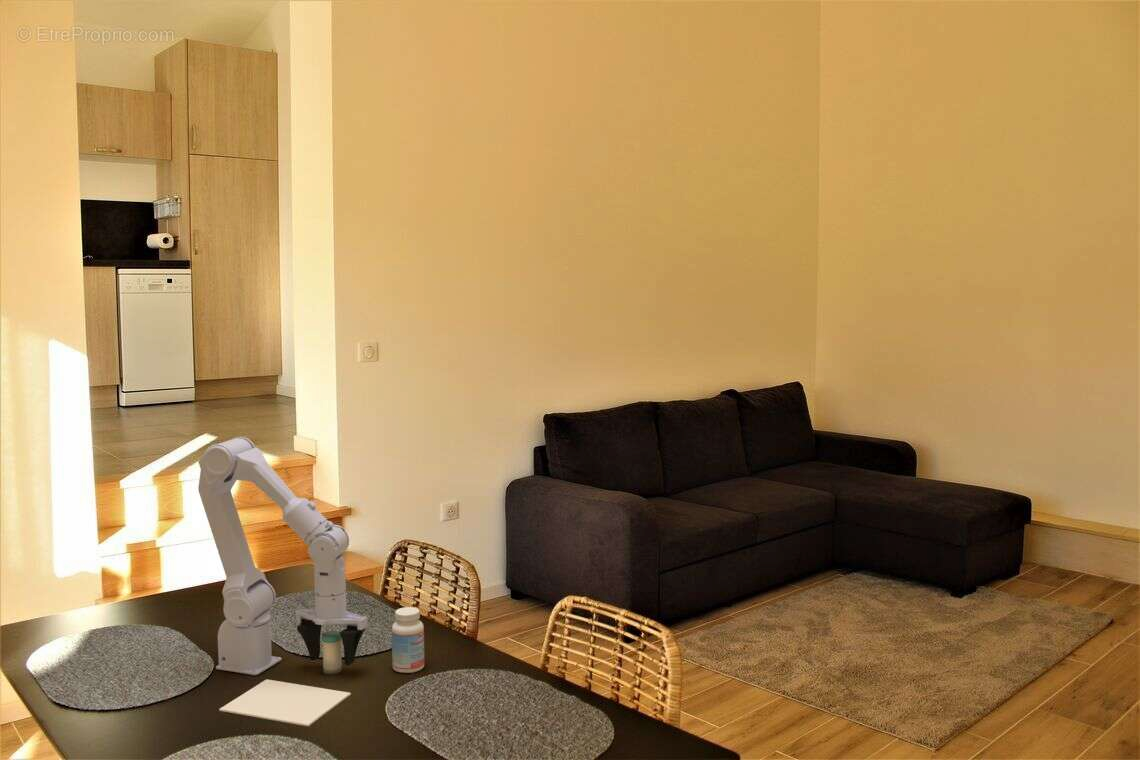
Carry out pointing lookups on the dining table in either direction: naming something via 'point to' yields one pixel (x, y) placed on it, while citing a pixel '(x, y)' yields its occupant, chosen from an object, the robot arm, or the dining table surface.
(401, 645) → the pill bottle
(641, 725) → the dining table surface
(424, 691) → the dining table surface
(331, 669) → the green lidded jar
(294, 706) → the paper
